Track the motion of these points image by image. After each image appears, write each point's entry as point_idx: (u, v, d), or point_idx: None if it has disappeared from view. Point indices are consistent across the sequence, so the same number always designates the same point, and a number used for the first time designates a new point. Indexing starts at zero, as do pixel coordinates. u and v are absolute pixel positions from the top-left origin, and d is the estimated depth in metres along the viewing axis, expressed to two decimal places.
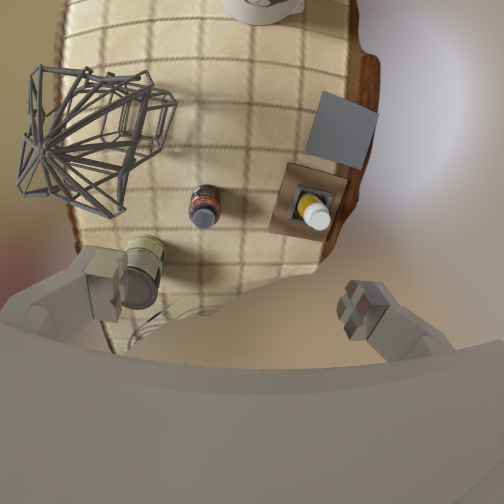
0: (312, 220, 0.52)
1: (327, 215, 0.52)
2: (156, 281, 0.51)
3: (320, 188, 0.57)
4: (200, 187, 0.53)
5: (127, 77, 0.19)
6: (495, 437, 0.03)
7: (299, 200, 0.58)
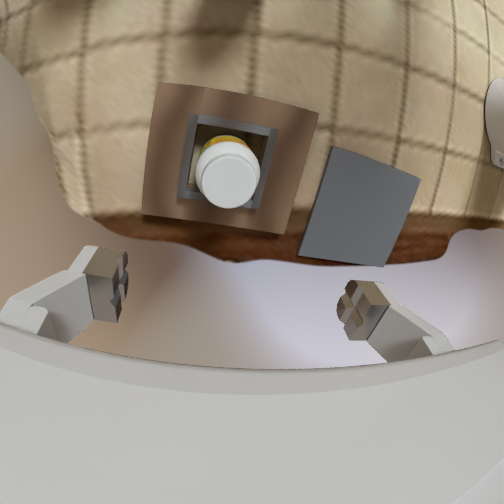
0: (231, 158, 0.18)
1: (246, 197, 0.20)
2: None
3: (266, 180, 0.28)
4: None
5: None
6: (495, 438, 0.03)
7: (238, 137, 0.25)
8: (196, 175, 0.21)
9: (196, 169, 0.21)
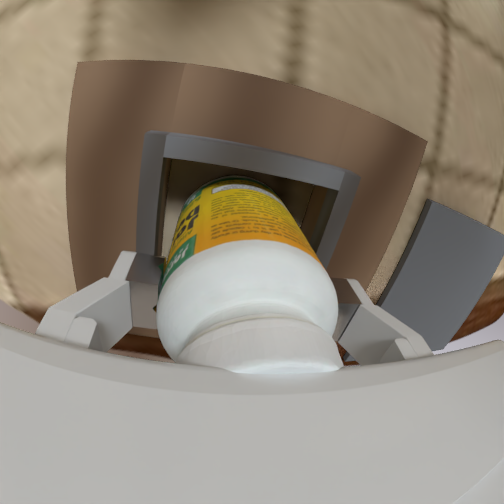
0: (278, 368, 0.04)
1: None
2: None
3: None
4: None
5: None
6: (495, 438, 0.03)
7: (265, 188, 0.11)
8: (161, 338, 0.07)
9: (158, 324, 0.07)
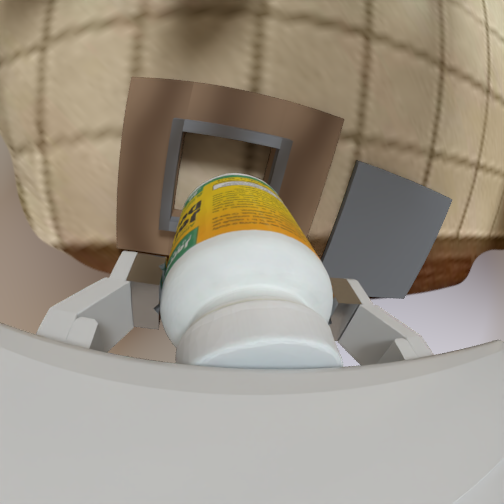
0: (274, 344, 0.05)
1: None
2: None
3: None
4: None
5: None
6: (495, 438, 0.03)
7: (263, 185, 0.12)
8: (164, 325, 0.07)
9: (162, 311, 0.07)
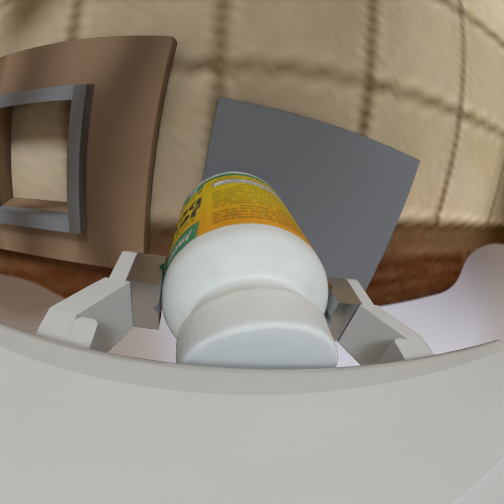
0: (270, 329, 0.05)
1: None
2: None
3: (89, 180, 0.13)
4: None
5: None
6: (495, 438, 0.03)
7: (261, 183, 0.12)
8: (165, 316, 0.08)
9: (163, 301, 0.08)
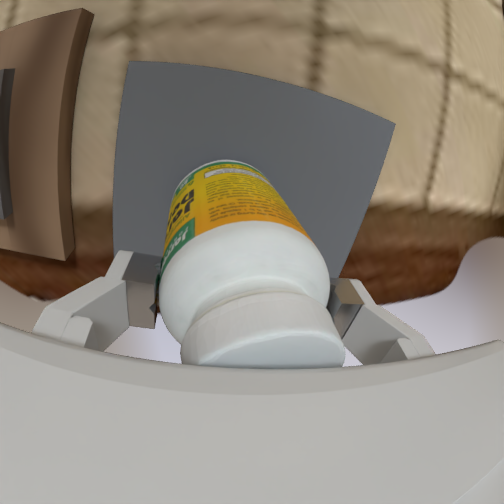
0: (283, 337, 0.05)
1: None
2: None
3: (11, 164, 0.10)
4: None
5: None
6: (495, 438, 0.03)
7: (255, 172, 0.11)
8: (164, 319, 0.07)
9: (162, 305, 0.07)
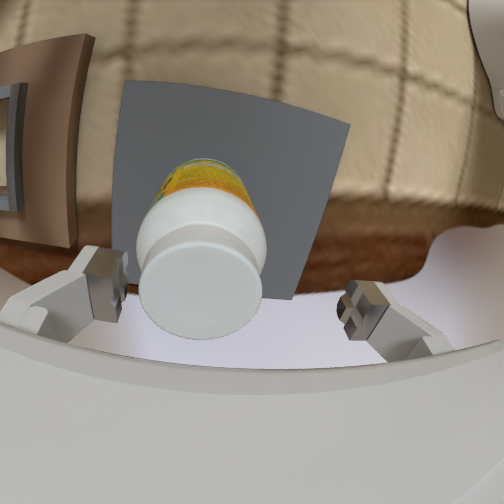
0: (200, 247, 0.08)
1: (239, 322, 0.09)
2: None
3: (24, 164, 0.12)
4: None
5: None
6: (495, 438, 0.03)
7: (223, 166, 0.14)
8: (138, 260, 0.10)
9: (137, 248, 0.10)
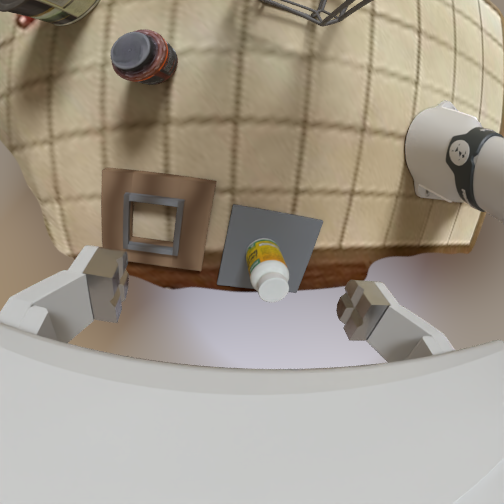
0: (276, 279, 0.34)
1: (282, 297, 0.35)
2: (30, 3, 0.10)
3: (182, 235, 0.39)
4: (175, 52, 0.25)
5: None
6: (495, 437, 0.03)
7: (272, 243, 0.40)
8: (251, 280, 0.36)
9: (252, 276, 0.36)
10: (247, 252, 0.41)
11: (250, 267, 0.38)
